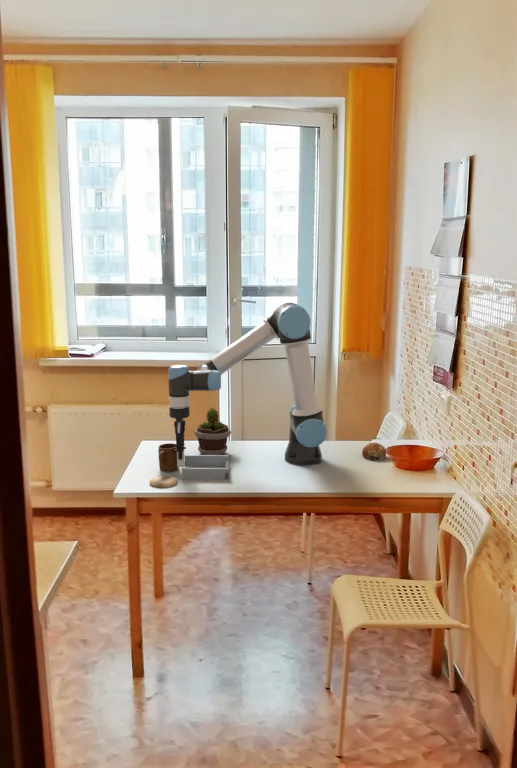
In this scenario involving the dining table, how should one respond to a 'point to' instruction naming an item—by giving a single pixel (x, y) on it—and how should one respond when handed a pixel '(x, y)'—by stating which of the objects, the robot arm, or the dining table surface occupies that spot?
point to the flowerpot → (212, 435)
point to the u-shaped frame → (206, 472)
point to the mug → (168, 458)
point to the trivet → (163, 482)
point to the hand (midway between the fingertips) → (180, 466)
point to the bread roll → (374, 451)
